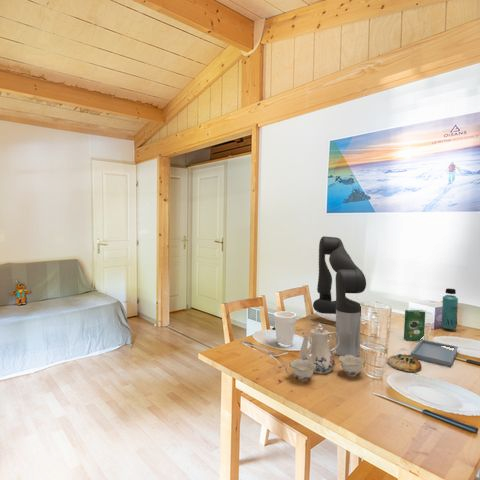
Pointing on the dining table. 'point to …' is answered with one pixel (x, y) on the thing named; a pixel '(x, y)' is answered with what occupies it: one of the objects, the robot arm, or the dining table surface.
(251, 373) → the dining table surface
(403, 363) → the bread roll
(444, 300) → the beverage bottle
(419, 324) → the coffee box
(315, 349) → the chinaware
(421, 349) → the dish
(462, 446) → the dining table surface
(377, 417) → the dining table surface
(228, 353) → the dining table surface
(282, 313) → the foam cup
